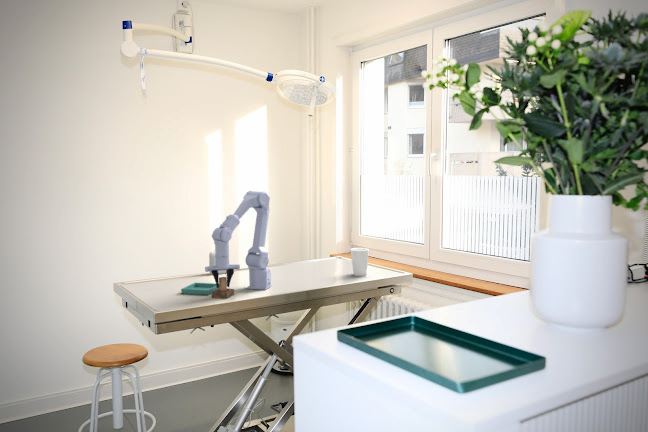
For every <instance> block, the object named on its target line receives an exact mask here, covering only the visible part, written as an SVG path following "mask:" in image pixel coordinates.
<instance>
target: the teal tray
mask: <svg viewBox="0 0 648 432" xmlns="http://www.w3.org/2000/svg"><path fill="white" fill-rule="evenodd" d="M216 289H218V288H217V287H216V283H213V282H212V283H211V282H193V283H191V284H189V285H187V286H185V287H182V288H181V290H180V292H181V295H194V296H196V295H197V296H210V295H212V292H213V291H214V290H216Z"/></svg>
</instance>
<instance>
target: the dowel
mask: <svg viewBox="0 0 648 432" xmlns="http://www.w3.org/2000/svg"><path fill="white" fill-rule="evenodd" d="M218 281H219V291H221V292H226V291H227V289H228V287H227V276H221V277H220V276H219V278H218Z"/></svg>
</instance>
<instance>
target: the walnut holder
mask: <svg viewBox="0 0 648 432" xmlns="http://www.w3.org/2000/svg"><path fill="white" fill-rule="evenodd" d="M234 295H235V289H234V288H227V291H226V292H221V291H219V288H218V289H216V290H214V291H213V292H212V294H211V297H212V298H215V299H229V298H231V297H232V296H234Z"/></svg>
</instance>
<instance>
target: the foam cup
mask: <svg viewBox="0 0 648 432" xmlns="http://www.w3.org/2000/svg"><path fill="white" fill-rule="evenodd" d="M369 255H370V249H369V248H366V247H354V248H350V257H351V266H352V274H353V275H354V276H357V277H364V276H366V275H367V272H368V271H367V269H368V265H369V264H368V263H369Z"/></svg>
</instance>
